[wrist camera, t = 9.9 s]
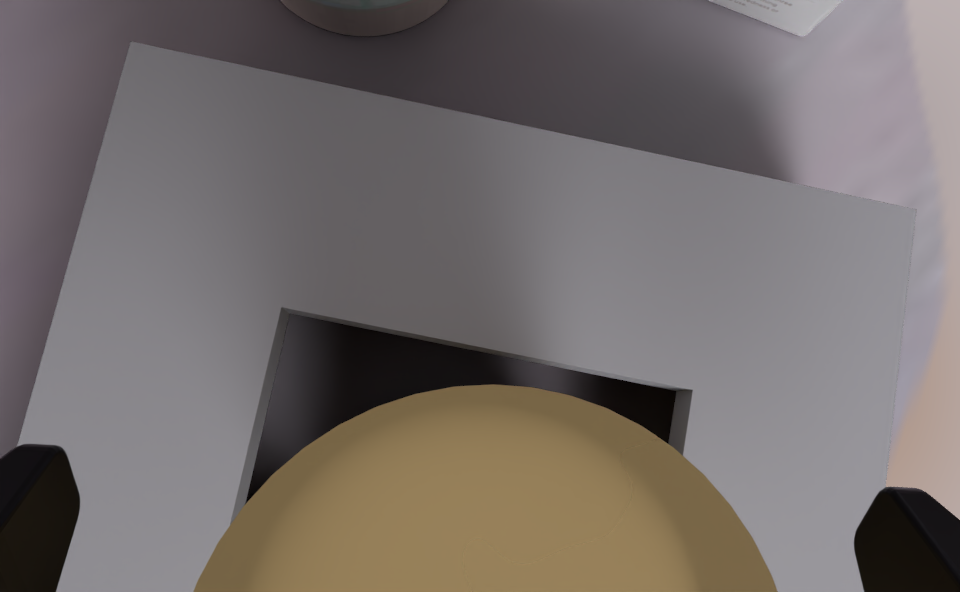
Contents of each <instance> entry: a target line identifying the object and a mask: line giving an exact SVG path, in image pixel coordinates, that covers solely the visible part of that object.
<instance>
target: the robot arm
mask: <svg viewBox="0 0 960 592" xmlns="http://www.w3.org/2000/svg"><path fill="white" fill-rule="evenodd" d="M79 511H80V494H79V491H78V487H77V484H76V481H75V478H74V475H73V472H72V468H71V465H70V462H69V459H68V456H67V454H66V451H65V450H64V449H63V448H62V447H61V446H57V445H46V444H23V445H20V446H18V447H15V448H14V449H12V450H11V451H9V452H8V453H7V454H5V455H4V456H3V457H2V458H0V592H56V590H57V587H58V584H59V580H60V577H61V574H62V570H63V567H64V564H65V560H66V557H67V554H68V550H69V547H70V544H71V540H72V537H73V534H74V530H75V527H76V524H77V520H78V516H79ZM854 551H855V556H856V560H857V565H858V569H859V573H860V577H861V581H862V586H863V590H864V592H960V520H959V519H958V518H957V517H955V516H954V515H953V514H952V513H951V512H949V511H948V510H947V509H946V508H945V507H943V506H942V505H941V504H940V503H938V502H937V501H936V500H935V499H934V498H933V497H931V496H930V495H929V494H927V493H926V492H924V491H922V490H920V489H917V488H903V487H885V488H884V489H882V490H880V491H879V492H878V494H877V495H876V497H875V498H874V500H873V502H872V504H871V505H870V507H869V509H868V510H867V512H866V514H865V515H864V517H863V519H862V521H861V522H860V524H859V526H858V527H857V529H856V532H855V536H854Z"/></svg>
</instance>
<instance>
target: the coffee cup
mask: <svg viewBox="0 0 960 592" xmlns="http://www.w3.org/2000/svg"><path fill="white" fill-rule="evenodd" d="M280 1H281V2H282V3H283V4H284V5H285V6H286V7H287V8H288V9H290V10H291V11H292V12H293V13H295V14H296V15H298V16H299V17H301V18H302V19H304V20H305V21H307V22H309V23H311V24H313V25H315V26H318V27H320V28H323V29H325V30H328V31H332V32H335V33H340V34H345V35H352V36H380V35H386V34H391V33H395V32H399V31H402V30H405V29H408V28H410V27H413V26H415V25H417V24H419V23H421V22H422V21H424V20H426V19H428V18H429V17H431V16H432V15H433V14H435V13H436V12H437V11H439V10H440V9H441V8H442V7H443V6H444V5H445V4H446V3H447V2H448V1H449V0H280Z"/></svg>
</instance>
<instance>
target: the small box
mask: <svg viewBox="0 0 960 592" xmlns="http://www.w3.org/2000/svg"><path fill="white" fill-rule="evenodd" d="M708 1H710V2H713V3H715V4H718V5H720V6H723V7H726V8H728V9H731V10H733V11H736V12H738V13H741V14H744V15H746V16H749V17H751V18H754V19H756V20H759V21H762V22H764V23H767V24H769V25H772V26H774V27H777V28H779V29H782V30H785V31H787V32H790V33H792V34H794V35H797V36H806V35H807V34H809V33H810V31H811V30H812V29H813V28H814V27H815V26H816V25H817V24H818V23H820V22H821V21H822V20H823V19H824V18H825V17H826V16H827V15H828V14H829V13H830V12H831V11H832V10H833V9H834V8H836V7H837V6H838V5H839V4H840V3H841V2H842V1H843V0H708Z"/></svg>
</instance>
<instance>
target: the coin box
mask: <svg viewBox="0 0 960 592" xmlns="http://www.w3.org/2000/svg"><path fill="white" fill-rule="evenodd" d="M915 218H916V209H913V208H908V207H903V206H899V205H894V204H889V203H885V202H880V201H875V200H871V199H866V198H861V197H857V196H852V195H847V194H843V193H838V192H833V191H829V190H824V189H819V188H815V187H810V186H805V185H801V184H796V183H791V182H786V181H782V180H777V179H772V178H768V177H763V176H758V175H754V174H749V173H744V172H740V171H735V170H730V169H726V168H721V167H716V166H712V165H707V164H702V163H698V162H693V161H688V160H684V159H679V158H674V157H670V156H665V155H660V154H656V153H651V152H646V151H642V150H637V149H632V148H628V147H623V146H618V145H613V144H609V143H604V142H599V141H595V140H590V139H585V138H581V137H576V136H571V135H567V134H562V133H557V132H553V131H548V130H543V129H539V128H534V127H529V126H525V125H520V124H515V123H511V122H506V121H501V120H497V119H492V118H487V117H483V116H478V115H473V114H469V113H464V112H459V111H455V110H450V109H445V108H440V107H436V106H431V105H426V104H422V103H417V102H412V101H408V100H403V99H398V98H394V97H389V96H384V95H380V94H375V93H370V92H366V91H361V90H356V89H352V88H347V87H342V86H338V85H333V84H328V83H324V82H319V81H314V80H310V79H305V78H300V77H296V76H291V75H286V74H281V73H277V72H272V71H267V70H263V69H258V68H253V67H249V66H244V65H239V64H235V63H230V62H225V61H221V60H216V59H211V58H207V57H202V56H197V55H193V54H188V53H183V52H179V51H174V50H169V49H165V48H160V47H155V46H151V45H146V44H141V43H137V42H132V41H131V42H130V45H129V49H128V52H127V56H126V59H125V63H124V67H123V70H122V74H121V77H120V81H119V84H118V88H117V92H116V95H115V99H114V102H113V106H112V109H111V113H110V116H109V120H108V124H107V127H106V131H105V134H104V138H103V141H102V145H101V149H100V152H99V156H98V159H97V163H96V166H95V170H94V174H93V177H92V181H91V184H90V188H89V191H88V195H87V199H86V202H85V206H84V209H83V213H82V216H81V220H80V223H79V227H78V231H77V234H76V238H75V241H74V245H73V248H72V252H71V256H70V259H69V263H68V266H67V270H66V273H65V277H64V281H63V284H62V288H61V291H60V295H59V298H58V302H57V306H56V309H55V313H54V316H53V320H52V323H51V327H50V330H49V334H48V338H47V341H46V345H45V348H44V352H43V355H42V359H41V363H40V366H39V370H38V373H37V377H36V380H35V384H34V388H33V391H32V395H31V398H30V402H29V405H28V409H27V413H26V416H25V420H24V423H23V427H22V430H21V434H20V437H19V441H18V445H17V447H18V446H20V445H23V444H46V445H57V446H61V447H62V448H63V449H64V450H65V451H66V454H67V456H68V459H69V462H70V465H71V468H72V472H73V475H74V478H75V481H76V484H77V487H78V491H79V494H80V511H79V516H78V520H77V524H76V527H75V530H74V534H73V537H72V540H71V544H70V547H69V550H68V554H67V557H66V560H65V564H64V567H63V570H62V574H61V577H60V580H59V584H58V587H57V590H56V592H193V591H194V589H195V586H196V584H197V581H198V579H199V577H200V575H201V573H202V572H203V570H204V568H205V566H206V564H207V562H208V560H209V559H210V557H211V555H212V553H213V551H214V549H215V547H216V545H217V544H218V542H219V540H220V539H221V537H222V536H223V535H224V533H225V532H226V530H227V529H228V528H229V526H230V525H231V523H232V522H233V521H234V519H235V518H236V516H237V515H238V513H239V512H240V511H241V509H242V508H243V506H244V505H245V503H246V499H247V495H248V490H249V486H250V482H251V478H252V473H253V469H254V465H255V461H256V456H257V452H258V448H259V443H260V439H261V435H262V431H263V426H264V422H265V418H266V413H267V409H268V405H269V401H270V396H271V392H272V388H273V383H274V379H275V375H276V371H277V366H278V362H279V358H280V354H281V349H282V345H283V341H284V336H285V332H286V328H287V324H288V319H289V315H290V314H295V315H300V316H305V317H310V318H315V319H320V320H325V321H330V322H335V323H340V324H345V325H350V326H355V327H360V328H365V329H370V330H375V331H380V332H385V333H390V334H395V335H400V336H405V337H410V338H415V339H420V340H425V341H430V342H435V343H440V344H445V345H450V346H454V347H459V348H464V349H469V350H474V351H479V352H484V353H489V354H494V355H499V356H504V357H509V358H514V359H519V360H524V361H529V362H534V363H539V364H544V365H549V366H554V367H559V368H564V369H569V370H574V371H579V372H584V373H589V374H594V375H599V376H604V377H609V378H614V379H619V380H624V381H629V382H634V383H639V384H644V385H649V386H654V387H659V388H664V389H669V390H674V391H676V398H675V404H674V411H673V417H672V424H671V430H670V437H669V443H668V444H669V445H670V446H672V447H673V448H675V449H676V450H677V451H678V452H679V453H680V454H681V455H683V456H684V457H685V458H686V459H687V460H688V461H689V462H690V463H692V464H693V465H694V466H695V467H696V468H697V469H698V470H699V471H701V472H702V473H703V474H704V475H705V476H706V477H707V479H708V480H709V481H710V482H711V483H712V484H713V485H714V487H715V488H716V489H717V490H718V491H719V492H720V493H721V495H722V496H723V497H724V498H725V499H726V500H727V501H728V503H729V504H730V505H731V506H732V508H733V509H734V511H735V512H736V514H737V515H738V517H739V518H740V520H741V521H742V523H743V524H744V526H745V527H746V529H747V530H748V532H749V533H750V535H751V536H752V538H753V539H754V541H755V543H756V545H757V547H758V549H759V551H760V553H761V555H762V557H763V559H764V561H765V563H766V565H767V567H768V569H769V571H770V573H771V575H772V577H773V580H774V583H775V586H776V588H777V591H778V592H864V590H863V586H862V581H861V577H860V573H859V569H858V565H857V560H856V556H855V551H854V536H855V532H856V529H857V527H858V526H859V524H860V522H861V521H862V519H863V517H864V515H865V514H866V512H867V510H868V509H869V507H870V505H871V504H872V502H873V500H874V498H875V497H876V495H877V494H878V492H879V491H880V490H882V489H884V488H885V487H886V478H887V469H888V460H889V451H890V442H891V433H892V424H893V415H894V406H895V397H896V388H897V379H898V370H899V361H900V352H901V344H902V335H903V326H904V317H905V308H906V299H907V290H908V281H909V272H910V263H911V254H912V245H913V236H914V227H915Z"/></svg>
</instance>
